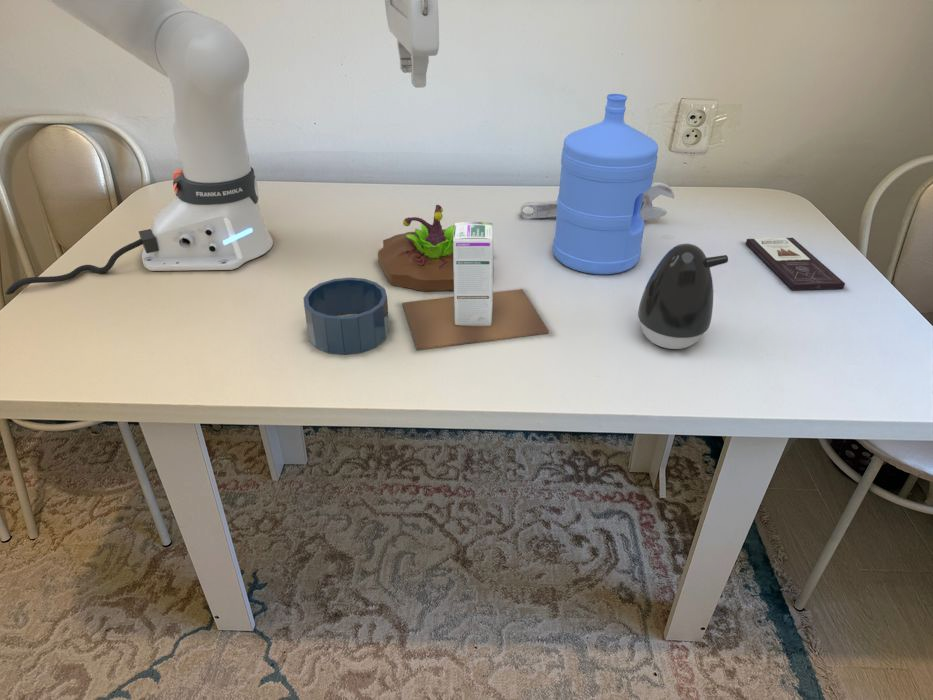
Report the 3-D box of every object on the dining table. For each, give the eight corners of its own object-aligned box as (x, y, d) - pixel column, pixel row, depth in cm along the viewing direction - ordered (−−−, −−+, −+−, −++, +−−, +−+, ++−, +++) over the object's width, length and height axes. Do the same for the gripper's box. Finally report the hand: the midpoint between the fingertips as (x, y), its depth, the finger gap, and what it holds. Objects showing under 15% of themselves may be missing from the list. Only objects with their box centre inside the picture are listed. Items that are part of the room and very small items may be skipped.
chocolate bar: (793, 285, 110) (746, 238, 125) (792, 290, 111) (745, 243, 125) (845, 283, 111) (792, 237, 126) (843, 288, 111) (791, 242, 126)
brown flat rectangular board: (416, 350, 95) (416, 347, 95) (402, 305, 106) (402, 302, 105) (548, 333, 99) (548, 330, 99) (522, 291, 110) (522, 289, 109)
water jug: (568, 280, 113) (587, 111, 97) (541, 241, 126) (554, 86, 110) (653, 272, 116) (685, 107, 100) (618, 235, 128) (642, 82, 112)
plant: (381, 295, 108) (377, 232, 102) (376, 244, 124) (372, 186, 117) (502, 288, 110) (505, 225, 104) (482, 238, 126) (483, 181, 120)
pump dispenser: (706, 364, 93) (732, 267, 84) (631, 352, 95) (649, 256, 87) (705, 326, 101) (729, 235, 93) (636, 316, 103) (652, 226, 95)
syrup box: (492, 327, 100) (495, 238, 91) (452, 326, 100) (452, 237, 91) (491, 307, 104) (494, 221, 96) (454, 306, 104) (454, 220, 96)
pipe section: (310, 359, 93) (305, 323, 90) (307, 316, 102) (302, 282, 99) (394, 348, 95) (392, 313, 92) (383, 307, 105) (380, 274, 101)
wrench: (521, 228, 137) (671, 219, 133) (521, 231, 136) (672, 223, 132) (519, 190, 133) (674, 180, 129) (519, 194, 131) (675, 184, 127)
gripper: (452, -26, 79) (450, 95, 86) (419, -40, 95) (421, 63, 103) (399, -27, 77) (402, 97, 85) (376, -40, 94) (380, 64, 101)
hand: (412, 78), depth 94 cm, fingers open, 8 cm apart
